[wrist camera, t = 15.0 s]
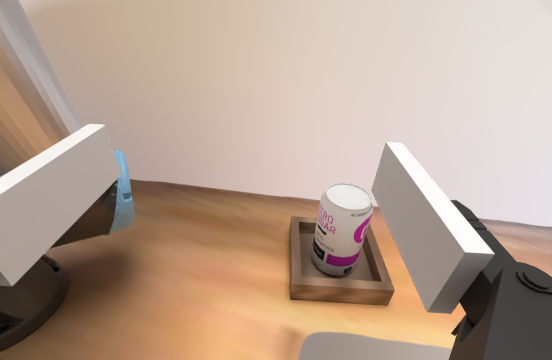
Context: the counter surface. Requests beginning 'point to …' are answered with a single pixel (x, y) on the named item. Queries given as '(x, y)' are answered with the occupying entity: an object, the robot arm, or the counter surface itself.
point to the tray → (323, 287)
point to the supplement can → (341, 228)
